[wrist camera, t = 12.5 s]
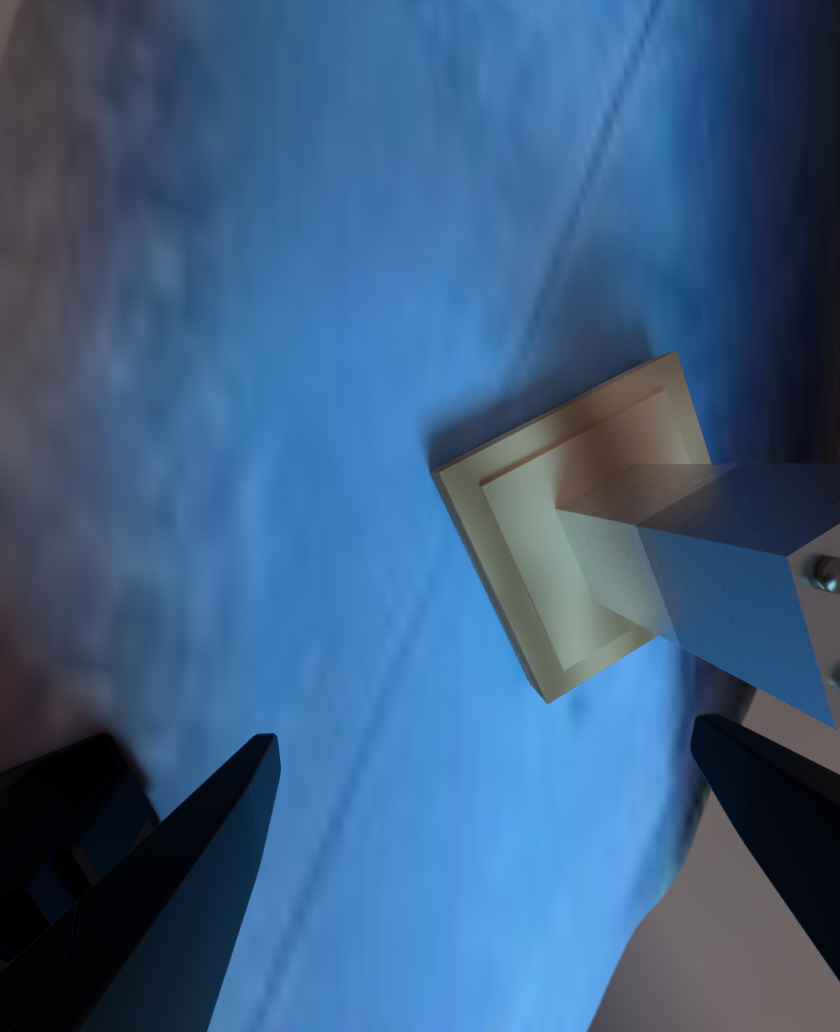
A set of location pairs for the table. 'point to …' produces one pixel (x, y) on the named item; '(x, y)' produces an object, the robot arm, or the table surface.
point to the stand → (536, 526)
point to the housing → (724, 567)
